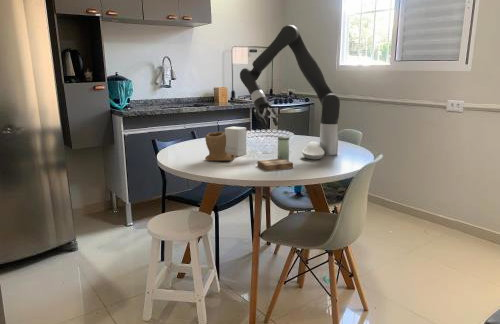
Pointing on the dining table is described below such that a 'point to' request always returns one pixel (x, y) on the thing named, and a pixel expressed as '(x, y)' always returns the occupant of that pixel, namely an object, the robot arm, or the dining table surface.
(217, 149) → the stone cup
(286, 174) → the dining table surface
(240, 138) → the supplement box
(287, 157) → the tea tin
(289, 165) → the dock
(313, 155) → the spoon rest
